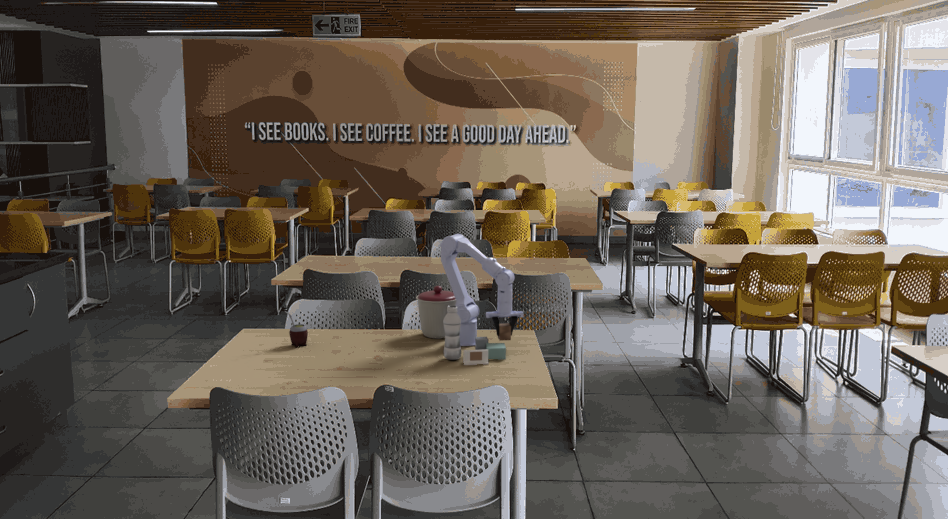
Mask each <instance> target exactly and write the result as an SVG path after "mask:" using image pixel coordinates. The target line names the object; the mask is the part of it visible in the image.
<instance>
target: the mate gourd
mask: <svg viewBox="0 0 948 519" xmlns="http://www.w3.org/2000/svg"><path fill="white" fill-rule="evenodd" d="M284 312H285V314H287V315H288V317H289V318H290V320H291V324H292V325H291V327H290V328H289V332H288V333H289V338H290V345H291V346H295V348H296V349H297V348H299V347H307V346H308V345H307V342H308V335H309V331H308V328H307V326H306V325H305V324H301V323H300V324H299V323H298V324H295V322H294V320H293V317H292V316H293V315H291V313H289V312H288V311H286V310H284Z"/></svg>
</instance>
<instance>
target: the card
mask: <svg viewBox="0 0 948 519" xmlns="http://www.w3.org/2000/svg"><path fill="white" fill-rule="evenodd" d="M462 351H463V352H462V353H463V358H462V360H463V361H462V363H464V364H463V366H477V364H483V365H489V360H488V350H475V349H465V350H464V349H463V350H462Z"/></svg>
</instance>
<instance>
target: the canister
mask: <svg viewBox="0 0 948 519" xmlns="http://www.w3.org/2000/svg"><path fill="white" fill-rule="evenodd" d="M415 300H417V305H418V308H417V309H418V316H419V321H420V322H419V323H420V329H421V332H422V334H423V336H425V337H427V338H430V339H445V329H444V323H443V320H444V317H445V316H446V315H447V313H448V312H447V307H448V306H455V305H456V299H455V296H454V293H453V291H449V290H443V287H442V286H441V285H435V286H434V287H433V290H428V291H423V292H421V293H419V294H418V295H416V297H415Z"/></svg>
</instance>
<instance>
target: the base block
mask: <svg viewBox="0 0 948 519" xmlns="http://www.w3.org/2000/svg"><path fill="white" fill-rule="evenodd" d="M486 350H488V359H498V360H506V359H507V347H506V344H505V342H488V343H486Z"/></svg>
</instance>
